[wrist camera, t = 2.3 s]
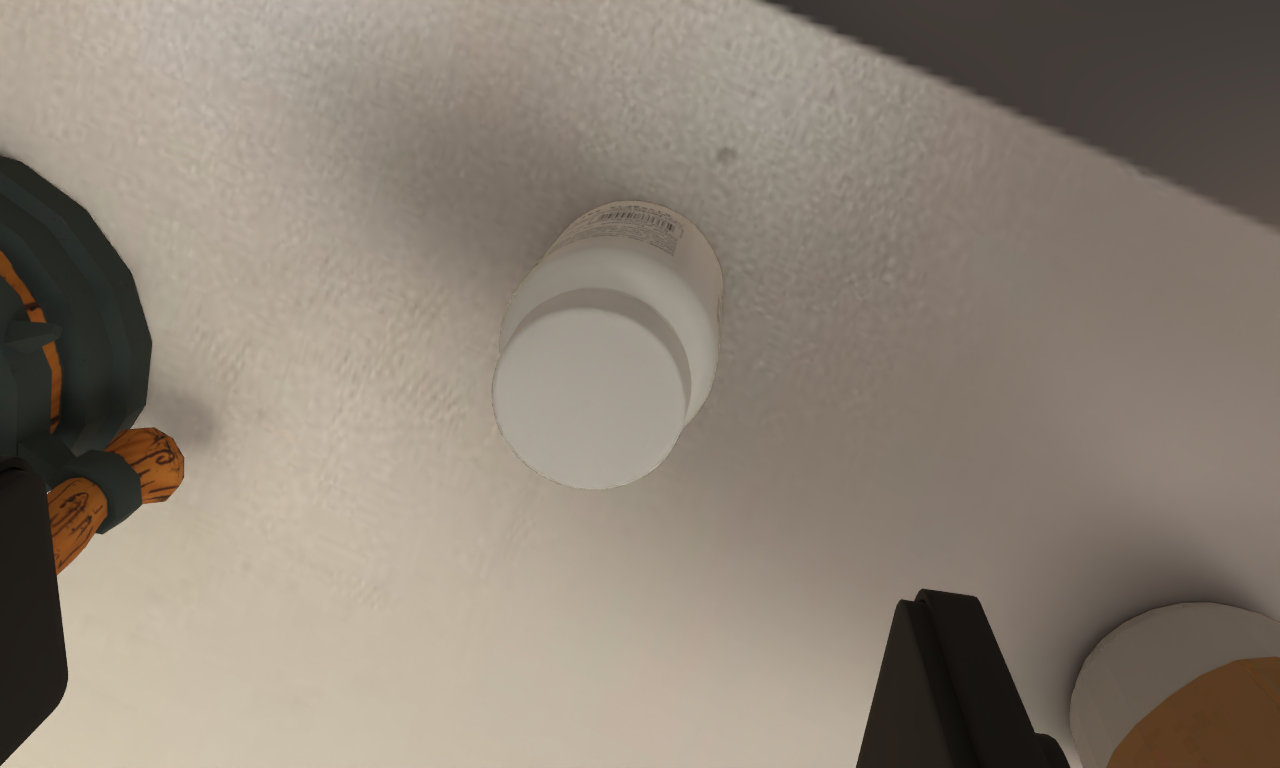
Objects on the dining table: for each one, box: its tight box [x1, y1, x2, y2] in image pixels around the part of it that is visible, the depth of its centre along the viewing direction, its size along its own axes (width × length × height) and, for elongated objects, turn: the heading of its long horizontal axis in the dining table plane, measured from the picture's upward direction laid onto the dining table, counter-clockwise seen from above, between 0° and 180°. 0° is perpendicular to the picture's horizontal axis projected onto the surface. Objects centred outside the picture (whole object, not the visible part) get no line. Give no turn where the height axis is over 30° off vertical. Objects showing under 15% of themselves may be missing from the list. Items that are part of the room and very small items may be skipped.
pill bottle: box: [492, 201, 723, 490], centre depth 21 cm, size 4×4×8 cm
